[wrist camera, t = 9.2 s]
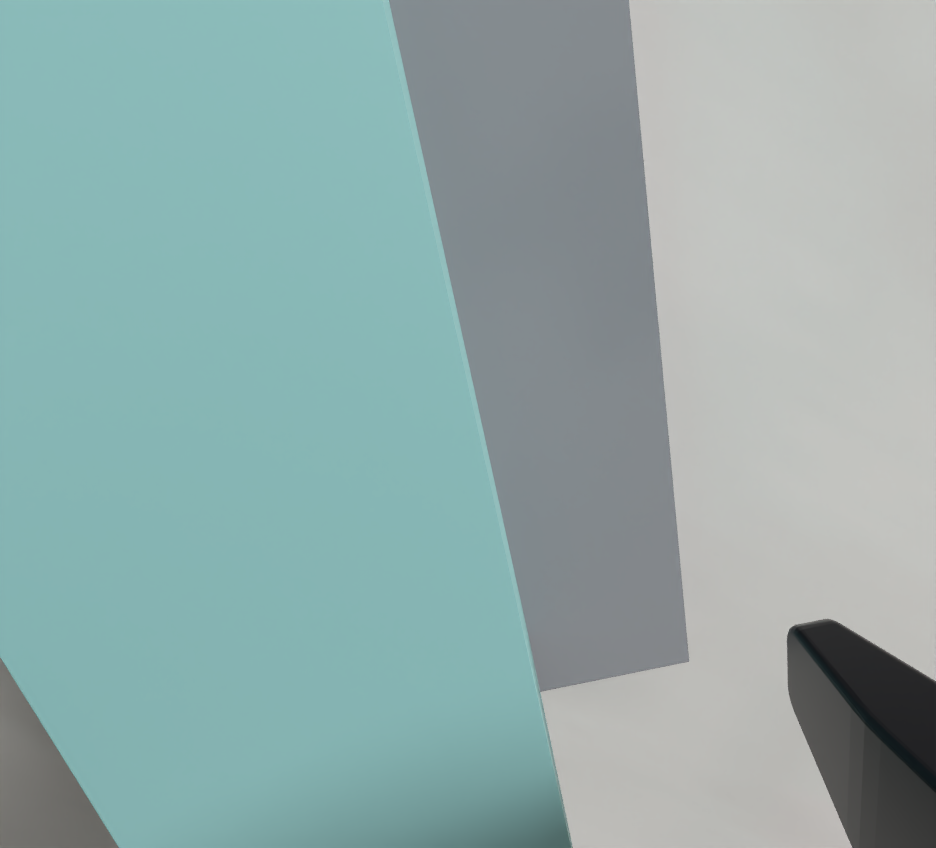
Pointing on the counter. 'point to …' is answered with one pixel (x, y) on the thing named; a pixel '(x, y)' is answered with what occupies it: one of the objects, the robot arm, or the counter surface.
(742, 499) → the counter surface
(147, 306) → the block
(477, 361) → the coaster
